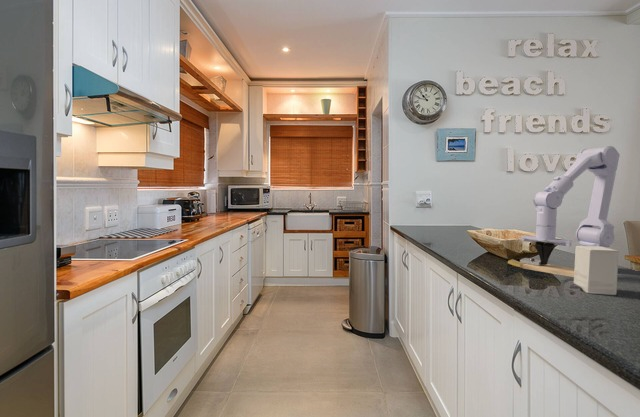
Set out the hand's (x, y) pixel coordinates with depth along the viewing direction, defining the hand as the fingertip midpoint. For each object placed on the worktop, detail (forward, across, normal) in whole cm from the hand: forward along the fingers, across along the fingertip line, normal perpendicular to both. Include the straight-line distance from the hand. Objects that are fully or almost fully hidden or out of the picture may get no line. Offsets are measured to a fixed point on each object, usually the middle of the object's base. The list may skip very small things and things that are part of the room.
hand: (544, 264), depth 115 cm
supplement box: (+3, +16, -12) cm, 20 cm away
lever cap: (0, -4, 0) cm, 4 cm away
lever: (+2, -6, 0) cm, 7 cm away
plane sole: (+3, +3, 0) cm, 4 cm away
